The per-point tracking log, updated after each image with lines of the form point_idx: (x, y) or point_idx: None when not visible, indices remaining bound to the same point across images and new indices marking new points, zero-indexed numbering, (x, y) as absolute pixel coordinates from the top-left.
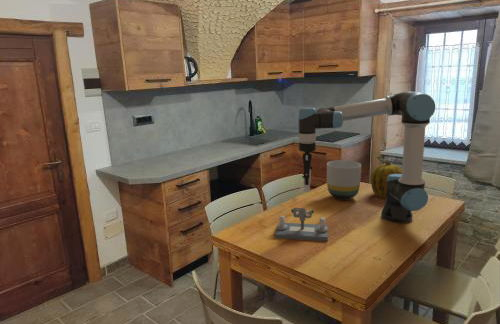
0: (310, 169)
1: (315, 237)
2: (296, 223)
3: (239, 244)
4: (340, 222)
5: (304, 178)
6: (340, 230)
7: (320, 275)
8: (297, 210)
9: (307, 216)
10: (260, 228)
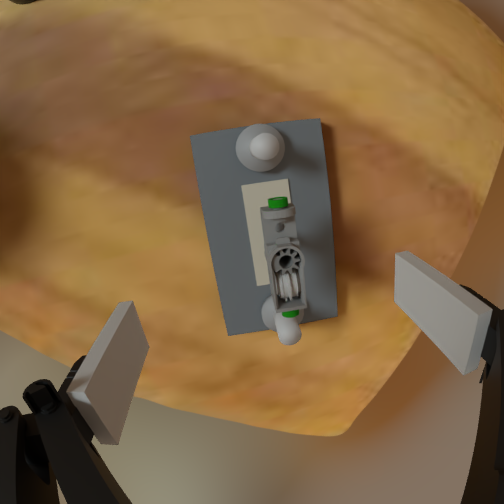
0: (73, 394)
1: (325, 166)
2: (216, 269)
3: (384, 376)
4: (111, 102)
5: (473, 356)
6: (194, 84)
7: (495, 138)
8: (304, 284)
9: (280, 224)
10: (266, 372)
